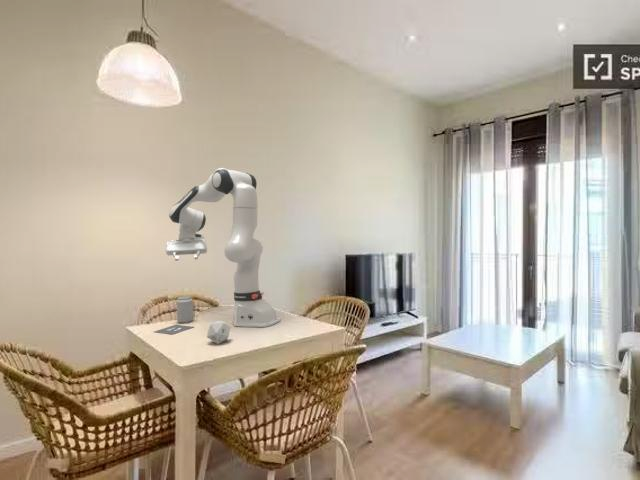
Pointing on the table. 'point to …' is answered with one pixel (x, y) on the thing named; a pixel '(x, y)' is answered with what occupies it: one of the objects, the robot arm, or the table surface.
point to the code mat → (173, 329)
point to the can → (185, 309)
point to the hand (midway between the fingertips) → (186, 259)
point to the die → (218, 332)
